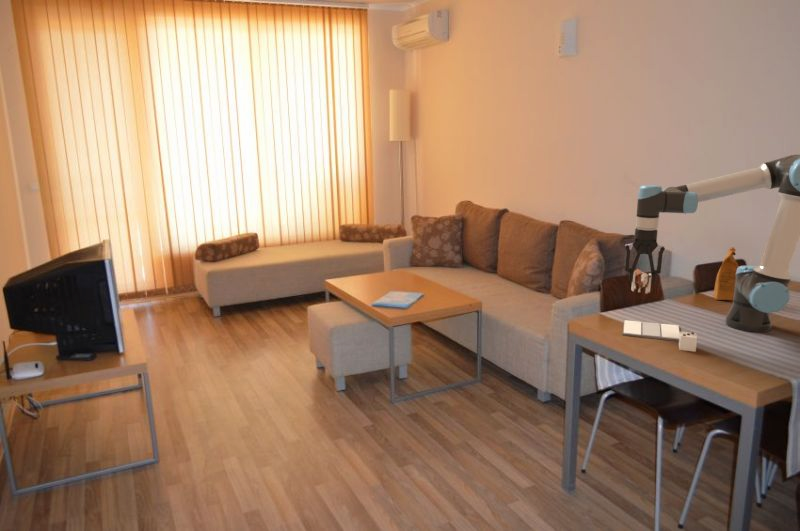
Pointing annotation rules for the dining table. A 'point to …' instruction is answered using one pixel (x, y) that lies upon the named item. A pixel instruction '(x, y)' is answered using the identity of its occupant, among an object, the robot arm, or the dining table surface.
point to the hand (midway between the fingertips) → (640, 290)
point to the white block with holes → (687, 341)
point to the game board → (651, 330)
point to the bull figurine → (641, 280)
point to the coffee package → (726, 278)
